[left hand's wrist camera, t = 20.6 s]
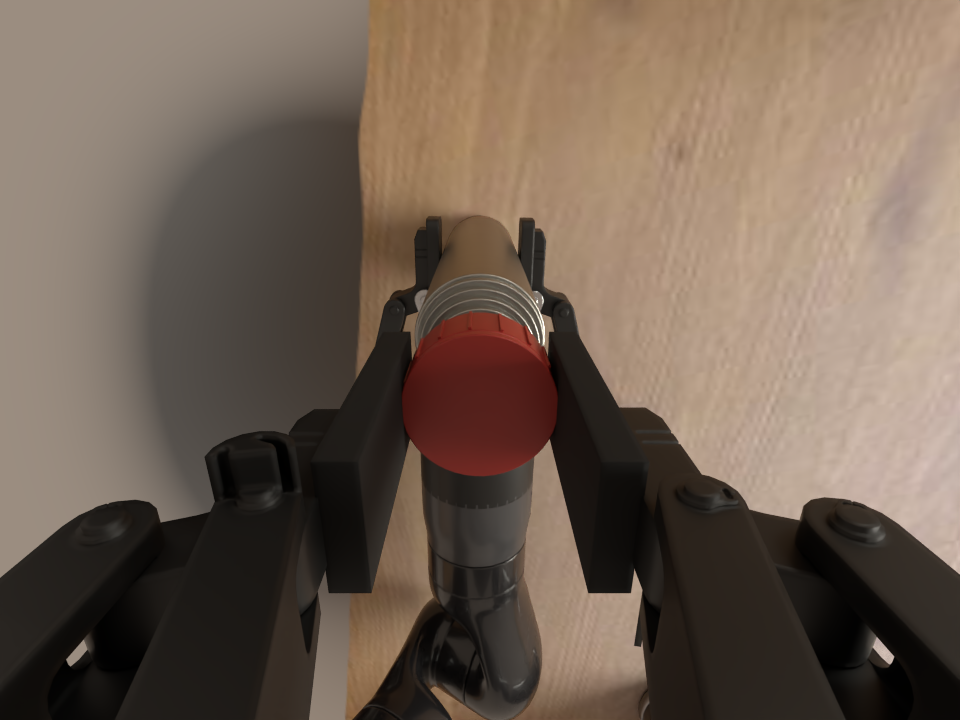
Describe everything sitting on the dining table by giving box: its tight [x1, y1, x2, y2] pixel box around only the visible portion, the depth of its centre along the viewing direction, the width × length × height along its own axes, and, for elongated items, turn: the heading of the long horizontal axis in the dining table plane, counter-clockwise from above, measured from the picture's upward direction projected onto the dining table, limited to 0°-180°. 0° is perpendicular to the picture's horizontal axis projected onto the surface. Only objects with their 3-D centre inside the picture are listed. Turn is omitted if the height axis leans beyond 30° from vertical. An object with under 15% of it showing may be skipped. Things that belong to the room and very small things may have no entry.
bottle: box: [415, 216, 545, 349], centre depth 24 cm, size 4×4×24 cm
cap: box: [402, 311, 558, 476], centre depth 14 cm, size 4×4×2 cm
